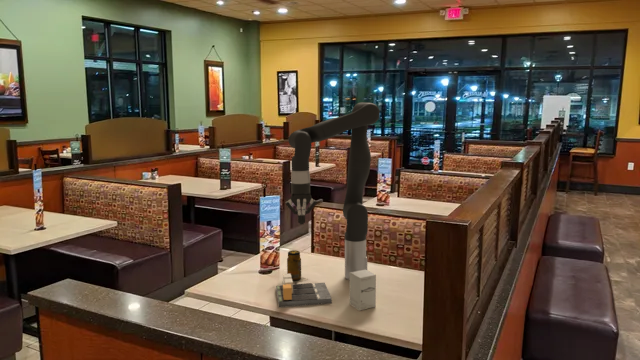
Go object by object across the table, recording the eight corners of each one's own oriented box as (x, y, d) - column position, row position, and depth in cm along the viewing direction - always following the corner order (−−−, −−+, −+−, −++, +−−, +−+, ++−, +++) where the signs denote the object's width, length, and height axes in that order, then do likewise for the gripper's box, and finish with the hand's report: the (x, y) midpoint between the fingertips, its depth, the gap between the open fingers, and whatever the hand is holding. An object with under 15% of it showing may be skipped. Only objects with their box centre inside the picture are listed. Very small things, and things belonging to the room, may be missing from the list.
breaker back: (290, 284, 197) (290, 273, 197) (291, 287, 193) (291, 276, 193) (283, 284, 197) (283, 273, 196) (284, 288, 193) (283, 277, 192)
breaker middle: (292, 289, 191) (291, 278, 191) (293, 293, 187) (292, 282, 187) (284, 290, 191) (284, 279, 190) (285, 293, 187) (285, 282, 186)
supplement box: (359, 311, 176) (359, 277, 174) (349, 304, 183) (348, 271, 181) (376, 307, 180) (376, 274, 178) (365, 300, 186) (365, 268, 184)
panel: (324, 287, 200) (324, 282, 200) (331, 303, 184) (331, 297, 183) (276, 290, 197) (276, 285, 197) (278, 307, 181) (278, 301, 180)
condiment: (296, 274, 216) (295, 248, 214) (307, 279, 209) (307, 252, 208) (282, 278, 211) (282, 251, 210) (294, 283, 205) (293, 256, 203)
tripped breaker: (290, 295, 185) (290, 284, 185) (291, 299, 181) (291, 288, 181) (283, 295, 185) (282, 284, 184) (283, 300, 181) (283, 288, 180)
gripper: (315, 179, 198) (316, 221, 200) (283, 180, 196) (284, 222, 199) (318, 182, 190) (319, 225, 193) (284, 183, 189) (285, 227, 191)
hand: (301, 223), depth 196 cm, fingers closed
